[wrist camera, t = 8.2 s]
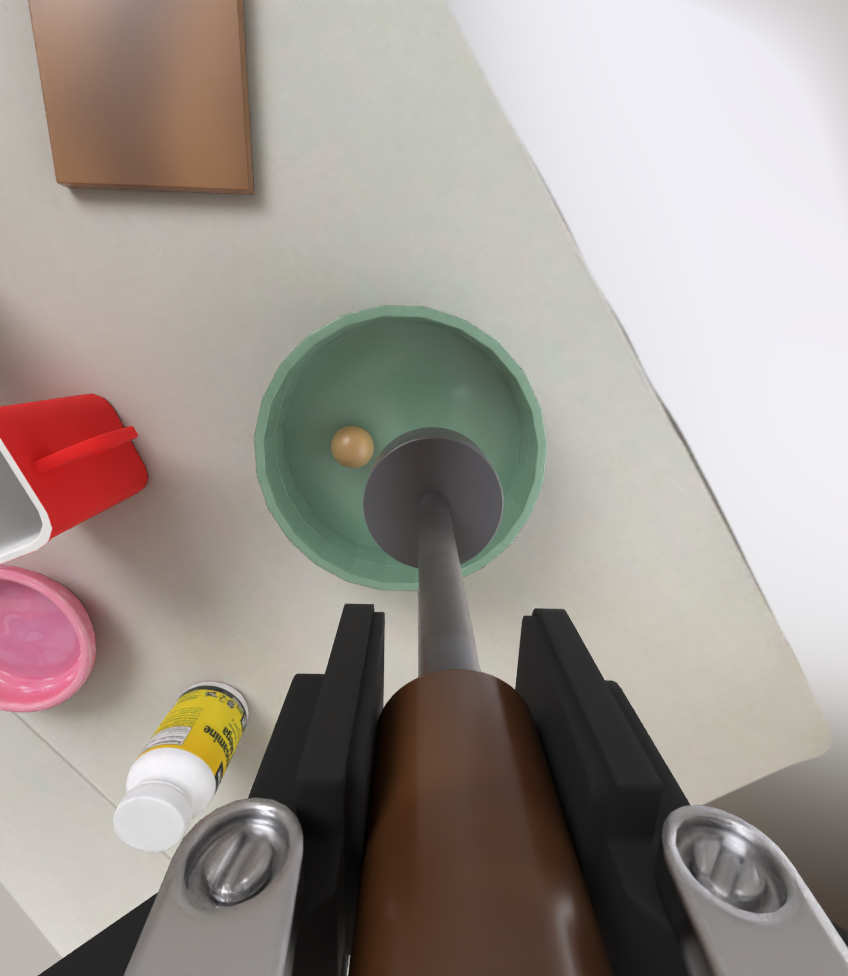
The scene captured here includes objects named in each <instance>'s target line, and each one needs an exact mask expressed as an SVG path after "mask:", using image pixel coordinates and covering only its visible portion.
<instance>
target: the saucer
mask: <svg viewBox="0 0 848 976" xmlns="http://www.w3.org/2000/svg"><path fill="white" fill-rule="evenodd" d="M95 658H96V641H95V633H94V629H93V626H92V623H91V620H90V618H89V615H88V613H87V611H86V609H85V607H84V606H83V604H82V603H81V602H80V600H79V599H78V598H77V597H76V596H75V595H74V594H73V593H72V592H71V591H70V590H68V589H67V588H66V587H64V586H63V585H61V584H59V583H58V582H56V581H54V580H52V579H50V578H48V577H46V576H44V575H42V574H39V573H36V572H33V571H30V570H26V569H22V568H18V567H13V566H5V565H0V710H4V711H11V712H34V711H40V710H45V709H48V708H51V707H54V706H57V705H59V704H61V703H62V702H64V701H66V700H67V699H69V698H70V697H71V696H72V695H74V694H75V693H76V692H77V691H78V690H79V689H80V688H81V686H82V685H83V684H84V683H85V681H86V680H87V679H88V677H89V675H90V673H91V671H92V669H93V666H94V663H95Z"/></svg>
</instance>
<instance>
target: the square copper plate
mask: <svg viewBox="0 0 848 976" xmlns="http://www.w3.org/2000/svg"><path fill="white" fill-rule="evenodd" d="M28 2H29V8H30V15H31V21H32V28H33V34H34V40H35V47H36V53H37V59H38V66H39V72H40V79H41V85H42V91H43V98H44V104H45V111H46V117H47V123H48V130H49V136H50V143H51V149H52V155H53V162H54V168H55V174H56V181H57V183H59V184H61V185H63V186H66V187H71V188H97V189H124V190H150V191H177V192H204V193H230V194H254V184H253V167H252V150H251V133H250V116H249V99H248V81H247V64H246V47H245V30H244V13H243V0H28Z"/></svg>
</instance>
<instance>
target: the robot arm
mask: <svg viewBox="0 0 848 976" xmlns="http://www.w3.org/2000/svg"><path fill="white" fill-rule="evenodd" d="M384 627H385V614H384V612H374V604H345V605H344V609H343V612H342V616H341V619H340V623H339V626H338V630H337V633H336V637H335V640H334V644H333V647H332V651H331V654H330V658H329V662H328V665H327V669H326V672H325V674H296V675H295V676H294V678H293V680H292V683H291V685H290V688H289V691H288V693H287V696H286V699H285V701H284V704H283V707H282V709H281V712H280V715H279V717H278V720H277V723H276V725H275V728H274V731H273V733H272V736H271V739H270V741H269V744H268V746H267V749H266V752H265V754H264V757H263V760H262V762H261V765H260V768H259V770H258V773H257V776H256V778H255V781H254V784H253V786H252V789H251V792H250V794H249V797H248V799H243V800H237V801H234V802H232V803H229V804H227V805H225V806H222V807H220V808H217V809H216V810H214V811H213V812H211V813H210V814H209V815H207V816H206V817H204V818H203V819H201V820H200V821H199V822H198V823H197V824H196V825H195V826H194V827H193V828H192V829H191V830H190V831H189V832H188V834H187V835H186V836H185V837H184V838H183V840H182V842H181V843H180V845H179V847H178V849H177V850H176V852H175V854H174V856H173V858H172V860H171V862H170V865H169V867H168V870H167V872H166V875H165V877H164V879H163V882H162V884H161V887H160V889H159V892H158V893H156V894H155V895H153V896H152V897H151V898H149V899H148V900H146V901H145V902H143V903H142V904H140V905H139V906H138V907H136V908H135V909H133V910H132V911H130V912H129V913H127V914H126V915H125V916H123V917H122V918H120V919H119V920H117V921H116V922H115V923H113V924H112V925H110V926H109V927H107V928H106V929H104V930H103V931H102V932H100V933H99V934H97V935H96V936H94V937H93V938H91V939H90V940H89V941H87V942H86V943H84V944H83V945H81V946H80V947H78V948H77V949H76V950H74V951H73V952H71V953H70V954H68V955H67V956H66V957H64V958H63V959H61V960H60V961H58V962H57V963H55V964H54V965H53V966H51V967H50V968H48V969H47V970H45V971H44V972H42V973H41V974H40V975H38V976H347V967H348V958H349V955H351V947H352V938H353V929H354V920H355V911H356V902H357V893H358V884H359V875H360V869H361V865H362V861H363V853H364V844H365V834H366V825H367V816H368V806H369V797H370V788H371V779H372V769H373V760H374V751H375V741H376V732H377V723H378V719H379V716H380V714H381V711H382V710H383V695H384ZM515 690H516V691H517V692H518V693H519V694H520V695H521V696H522V698H523V699H524V700H525V702H526V703H527V705H528V706H529V708H530V710H531V712H532V714H533V717H534V721H535V724H536V727H537V730H538V734H539V737H540V740H541V743H542V746H543V750H544V753H545V756H546V759H547V762H548V766H549V769H550V772H551V775H552V778H553V782H554V785H555V788H556V791H557V795H558V798H559V801H560V804H561V807H562V811H563V814H564V817H565V820H566V823H567V827H568V830H569V833H570V836H571V840H572V843H573V846H574V849H575V852H576V856H577V859H578V862H579V865H580V868H581V872H582V875H583V878H584V881H585V884H586V888H587V891H588V894H589V897H590V901H591V904H592V907H593V910H594V913H595V917H596V920H597V923H598V926H599V929H600V933H601V936H602V939H603V942H604V946H605V949H606V952H607V955H608V958H609V962H610V965H611V968H612V971H613V974H614V976H848V931H846V930H844V929H843V928H841V927H840V926H838V925H836V924H835V923H833V922H832V921H830V920H829V919H828V917H827V916H826V915H825V913H824V911H823V910H822V908H821V907H820V906H819V904H818V902H817V901H816V899H815V898H814V896H813V895H812V893H811V892H810V890H809V889H808V887H807V886H806V884H805V883H804V881H803V880H802V878H801V877H800V875H799V874H798V872H797V870H796V869H795V867H794V866H793V865H792V863H791V862H790V861H789V860H788V858H787V857H786V856H785V855H784V853H782V851H781V850H780V849H779V847H778V846H777V845H776V844H774V843H773V842H772V841H771V840H770V839H769V838H768V837H766V836H765V835H764V834H763V833H762V832H761V831H760V830H758V829H757V828H755V827H753V826H752V825H750V824H749V823H747V822H746V821H744V820H742V819H741V818H739V817H737V816H735V815H732V814H730V813H727V812H725V811H722V810H720V809H717V808H712V807H707V806H702V805H693V806H691V805H690V803H689V802H688V800H687V798H686V797H685V795H684V793H683V792H682V790H681V788H680V787H679V785H678V783H677V782H676V780H675V778H674V777H673V775H672V773H671V772H670V770H669V768H668V766H667V765H666V763H665V761H664V760H663V758H662V756H661V755H660V753H659V751H658V750H657V748H656V746H655V745H654V743H653V741H652V740H651V738H650V736H649V735H648V733H647V731H646V729H645V728H644V726H643V724H642V723H641V721H640V719H639V718H638V716H637V714H636V713H635V711H634V709H633V708H632V706H631V704H630V703H629V701H628V699H627V698H626V696H625V694H624V692H623V691H622V689H621V688H620V686H619V685H618V684H617V683H616V682H614V681H606V680H604V678H603V677H602V675H601V673H600V671H599V669H598V668H597V666H596V664H595V662H594V660H593V659H592V657H591V655H590V653H589V652H588V650H587V648H586V646H585V644H584V643H583V641H582V639H581V637H580V635H579V634H578V632H577V630H576V628H575V626H574V625H573V623H572V621H571V619H570V618H569V616H568V614H567V612H566V611H565V610H564V609H537V608H535V609H534V610H533V613H532V616H524V617H523V620H522V628H521V638H520V648H519V658H518V668H517V678H516V687H515Z"/></svg>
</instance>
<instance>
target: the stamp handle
mask: <svg viewBox="0 0 848 976" xmlns="http://www.w3.org/2000/svg"><path fill="white" fill-rule="evenodd" d="M363 511H364V517H365V521H366V524H367V527H368V529H369V531H370V533H371V535H372V537H373V539H374V540H375V541H376V543H377V544H378V545H379V546H380V547H381V549H382V550H383V551H384V552H386V553H387V554H388V555H389V556H391V557H392V558H394V559H395V560H397V561H399V562H401V563H403V564H405V565H408V566H411V567H414V568H418V678H416V679H414V680H412V681H411V682H409V683H407V684H406V685H405V686H403V687H402V688H400V689H399V690H398V691H397V692H396V693H395V694H394V695H393V696H392V697H391V698H390V700H389V701H388V702H387V703H386V705H385V707H384V708H383V710H382V711H381V714H380V716H379V719H378V723H377V732H376V741H375V751H374V760H373V769H372V779H371V788H370V797H369V806H368V816H367V825H366V834H365V844H364V853H363V861H362V865H361V869H360V875H359V884H358V893H357V902H356V911H355V920H354V929H353V938H352V947H351V956H350V965H349V974H348V976H614V974H613V971H612V968H611V965H610V962H609V958H608V955H607V952H606V949H605V946H604V942H603V939H602V936H601V933H600V929H599V926H598V923H597V920H596V917H595V913H594V910H593V907H592V904H591V901H590V897H589V894H588V891H587V888H586V884H585V881H584V878H583V875H582V872H581V868H580V865H579V862H578V859H577V856H576V852H575V849H574V846H573V843H572V840H571V836H570V833H569V830H568V827H567V823H566V820H565V817H564V814H563V811H562V807H561V804H560V801H559V798H558V795H557V791H556V788H555V785H554V782H553V778H552V775H551V772H550V769H549V766H548V762H547V759H546V756H545V753H544V750H543V746H542V743H541V740H540V737H539V734H538V730H537V727H536V724H535V721H534V717H533V714H532V712H531V710H530V708H529V706H528V705H527V703H526V702H525V700H524V699H523V698H522V696H521V695H520V694H519V693H518V692H517V691H516V690H515V689H513V688H512V687H511V686H510V685H508V684H507V683H505V682H504V681H502V680H501V679H498V678H496V677H494V676H492V675H489V674H486V673H483V672H481V671H480V666H479V661H478V656H477V650H476V645H475V640H474V635H473V630H472V624H471V619H470V614H469V609H468V604H467V598H466V593H465V588H464V583H463V578H462V572H461V567H460V564H463V563H465V562H467V561H469V560H470V559H472V558H474V557H475V556H476V555H478V554H479V553H480V552H481V551H482V550H483V549H484V548H485V547H486V546H487V545H488V544H489V542H490V541H491V540H492V538H493V537H494V535H495V533H496V532H497V529H498V527H499V525H500V521H501V518H502V513H503V492H502V487H501V483H500V480H499V478H498V476H497V473H496V472H495V470H494V468H493V467H492V465H491V463H490V462H489V460H488V459H487V457H486V455H485V454H484V453H483V451H482V450H481V449H480V448H479V447H478V446H477V445H476V444H475V443H474V442H473V441H472V440H470V439H469V438H468V437H466V436H464V435H462V434H460V433H458V432H456V431H453V430H450V429H445V428H439V427H425V428H419V429H415V430H412V431H409V432H406V433H404V434H402V435H400V436H399V437H397V438H395V439H394V440H393V441H391V442H390V443H389V444H388V445H387V446H386V447H385V448H384V449H383V450H382V451H381V453H380V454H379V456H378V457H377V459H376V461H375V463H374V465H373V467H372V470H371V472H370V475H369V478H368V480H367V483H366V486H365V491H364V497H363Z"/></svg>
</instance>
